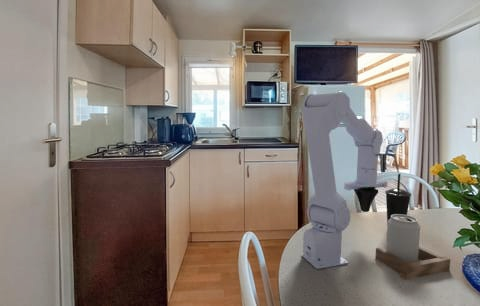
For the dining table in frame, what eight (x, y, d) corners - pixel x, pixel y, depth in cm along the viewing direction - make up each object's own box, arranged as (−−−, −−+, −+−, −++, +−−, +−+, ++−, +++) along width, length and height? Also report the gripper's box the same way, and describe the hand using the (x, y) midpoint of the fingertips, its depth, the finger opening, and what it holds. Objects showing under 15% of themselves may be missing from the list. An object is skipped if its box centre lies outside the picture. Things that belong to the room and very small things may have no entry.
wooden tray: (405, 279, 66) (406, 267, 66) (372, 259, 76) (373, 248, 76) (449, 270, 70) (450, 259, 70) (412, 252, 80) (413, 242, 80)
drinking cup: (412, 237, 91) (416, 176, 89) (386, 235, 92) (390, 175, 90) (403, 228, 98) (407, 172, 96) (380, 227, 100) (383, 171, 98)
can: (423, 268, 72) (427, 222, 70) (393, 267, 72) (396, 221, 71) (407, 254, 79) (410, 212, 78) (380, 253, 79) (382, 212, 78)
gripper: (376, 165, 93) (374, 205, 94) (338, 167, 88) (337, 209, 90) (393, 168, 86) (391, 211, 87) (354, 170, 82) (352, 216, 83)
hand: (364, 211), depth 88 cm, fingers closed
